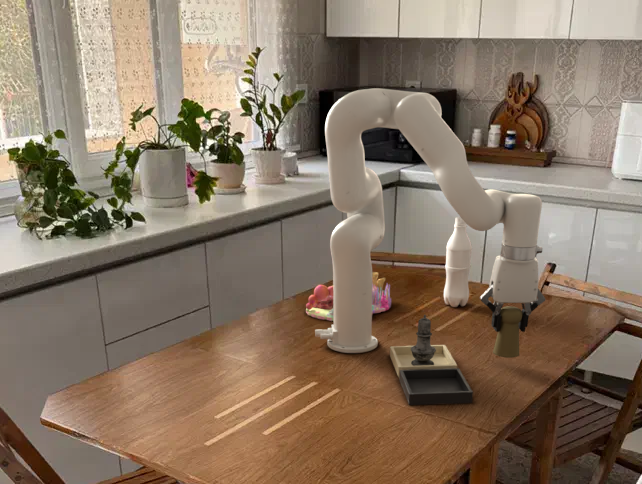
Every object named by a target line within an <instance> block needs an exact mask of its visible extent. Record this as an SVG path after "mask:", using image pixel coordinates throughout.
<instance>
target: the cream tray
mask: <svg viewBox="0 0 642 484" xmlns="http://www.w3.org/2000/svg"><path fill="white" fill-rule="evenodd" d="M413 346H414V345H393V346H392V345H390V347H389V357H390V359H391V363H392V366H393V367H394V370H395V373H396V375H397V377H398V378H399V374H400V370H415V369H448V368H458V364H457V362H456V361H455V359H454V356H453V355H452V354H451V352H450V350H449V349H448V347H447V346H446V344H431V346H432V347H434V348H435V349H436V351H435V352H434V356H433V358H431V359H430V360H431V361H433V362H434V365H419V366H413V365H412V364H411V362H412V361H413V360H415V358H414V357H413V355H412V351H411V347H413Z"/></svg>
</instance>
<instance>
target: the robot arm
mask: <svg viewBox="0 0 642 484" xmlns="http://www.w3.org/2000/svg"><path fill="white" fill-rule="evenodd" d="M442 112H443V111H442V106H441V103H440V102H439V100H438V99H437V98H436V97H435V96H434V95H432V94H430V93H427V92H421V91H420V92H418V91H407V90H398V89H389V88H379V87H376V88H375V87H374V88H365V89H358V90H354V91H351V92H348V93H347V94H345V95H344V96H342V97H341V98H339V99H338V100H336V102H335V103H334V104H333V105H332V106H331V108H330V109H329V111H328V113H327V116H326V119H325V124H324V136H325V145H326V155H327V169H328V179H329V191H330V192H329V193H330V198H331V199H330V200H331V202H332V204H333V206H334V207H335V209H336V210H337V211H339V212H341V213H344V214H346V216H347V218H346V219H344V220H341V221H340V222H339V223H337V225H336V226H335V228H334V229H333V230H332V232H331V235H330V241H329V247H330V248H329V249H330V254H331V259H332V260H331V262H332V285H333V308H334V321H333V324H331V327H327V329H314V337H315V338H320V340H327V341H326V344H327V347H328V348H329V349H331V350H332V351H336V352H338V353H344V354H361V353H367V352H370V351H373V350H375V349H376V348H377V347H378V343H379V341H378V338H377V337H375V336H374V335H372V333H373V331H372V330H373V327H372V326H373V325H372V324H373V314H372V272H373V265H372V259H371V252H372V251H373V250H374V249H376V248H377V247H378V246H380V245H381V243H382V242H383V239H384V237H385V232H386V225H385V224H386V223H385V209H384V197H383V186H382V183H381V180H380V178H379V176H378V174H377V173H376V171H374V170H373V169H372V168H369V167H367V166H366V160H365V158H366V157H365V156H366V155H365V147H364V144H363V140H362V135H363V132H365V131H367V130H372V129H375V128H385V129H393V130H399V131H400V133H401V134H402V136H404V138H405V139H406V140H407V142H408V143H409V144H410V145H411V146H412V147H413V149H414V150H415V151H416V152H417V154H418V155H419V156H420V158H421V160H423V161H424V163H425V164H426V165H427V166H428V168H429V169H430V170H431V172H432V174H433V176H434V178H435V181H436V182H437V184H438V186H439V188H440V190H441V192H442V194H443V195H444V197H445V199H446V200H447V202H448V203H449V205H450V206H451V207H452V208H453V210H454V211H455V212H456V213H457V215H458V217H461V218H462V219H463V220H464V222H465V223H466V225H467V227H468V226H469V228H471V229H473V230H475V231H478V232H485V231H489V230H491V229H493V228H495V226H497V225H499V224H503V228H502V236H501V237H502V238H501V247H500V255H496V257H495V259H494V263H493V266H492V271H491V275H490V281H489V286H488V287H487V289H486V290H485V291H484V292H483V293H482V294H481V295H480V296H479V300H480V301H481V303H483V304H484V306H486V307H487V308H488V309H489V310H490V311H491V312H492V314H491V315H492V317H491V327H492V328H493V330H494V331H495V332H496V333H498V332H499V331H500V324H501V315H500V311H501V309H502V308H503V307H504V304H521V311H522V319H521V321H520V322H519V331H520V332H522V333H525V332H526V328H528V324H529V319H530V318H529V316H530V315H531V314H532V313H533V312H534V311H535V310H536V309H537V308H538V306H540V305H542V304H543V303H544V302H546V297H545V296H544V294H543V293H542V291H541V290H540V289H539V260H538V258H537V255H538V254H542V253H543V247H542V246H538V239H539V231H540V223H541V215H542V208H543V201H542V199H541V198H540V196H537V195H534V194H529V193H512V192H507V191H504V190H503V191H502V190H498V189H495V188H494V189H493V188H490V189H484V188H483V186H481V184H480V182H479V181H478V180H477V179H476V177H475V175H474V174H473V173H472V171H471V168H470V166H469V163H468V160H467V154H466V149H465V146H464V144H463V143H462V140H460V139H459V137H458V136H457V135H456V134H455V132H453V130H452V128H450V126H449V125H448V124H447V123H446V121H445V120H444V119H443V118H442V115H443V114H442ZM490 297H491V298H492V301H493V302H492V301H490V300H489V299H490Z"/></svg>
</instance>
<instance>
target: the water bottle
mask: <svg viewBox="0 0 642 484" xmlns="http://www.w3.org/2000/svg"><path fill="white" fill-rule="evenodd" d="M454 219H455V221H454V225H453V227H454V229H453V232H452V234H451V236H450V237H449V239H448V241H447V244H446V246H445V247H446V248H445V249H446V254H445V265H444V267H445V275H446V276H445V284H444V289H443V300H444V303H445V305H446V306H450V307H452V308H457V307H458V306H459V305H460V307H464V306H466V305H467V304H468V301H469V297H470V289H469V276H470V270H471V267H472V265H471V264H472V263H471V260H472V250H473V246H472V242H471V239H470V237H469V235H468V232H467V227H468V225H467V224H466V223H465V222H464V220H463V219H462V218H461V217H460V216H457V217H455V218H454Z"/></svg>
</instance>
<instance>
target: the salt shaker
mask: <svg viewBox="0 0 642 484" xmlns="http://www.w3.org/2000/svg"><path fill="white" fill-rule="evenodd" d="M431 327H432V321H431V319H430V318H427V315H426V314H424V315H423V317H422V318H420V319H418V322H417V331H416V332H415V334H416V344H415V345H412V346H413V347H411V351H412V355H413V357H414V358H415V360H413V361H412V362H411V364H412V365H413V366H419V365H434V362H433V361H431V360H430V359H431V358H433V356H434V352H435V351H436V349H435V348H434V347H432V346H431V345H432V344H431V336H433V333H432V332H431Z"/></svg>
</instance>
